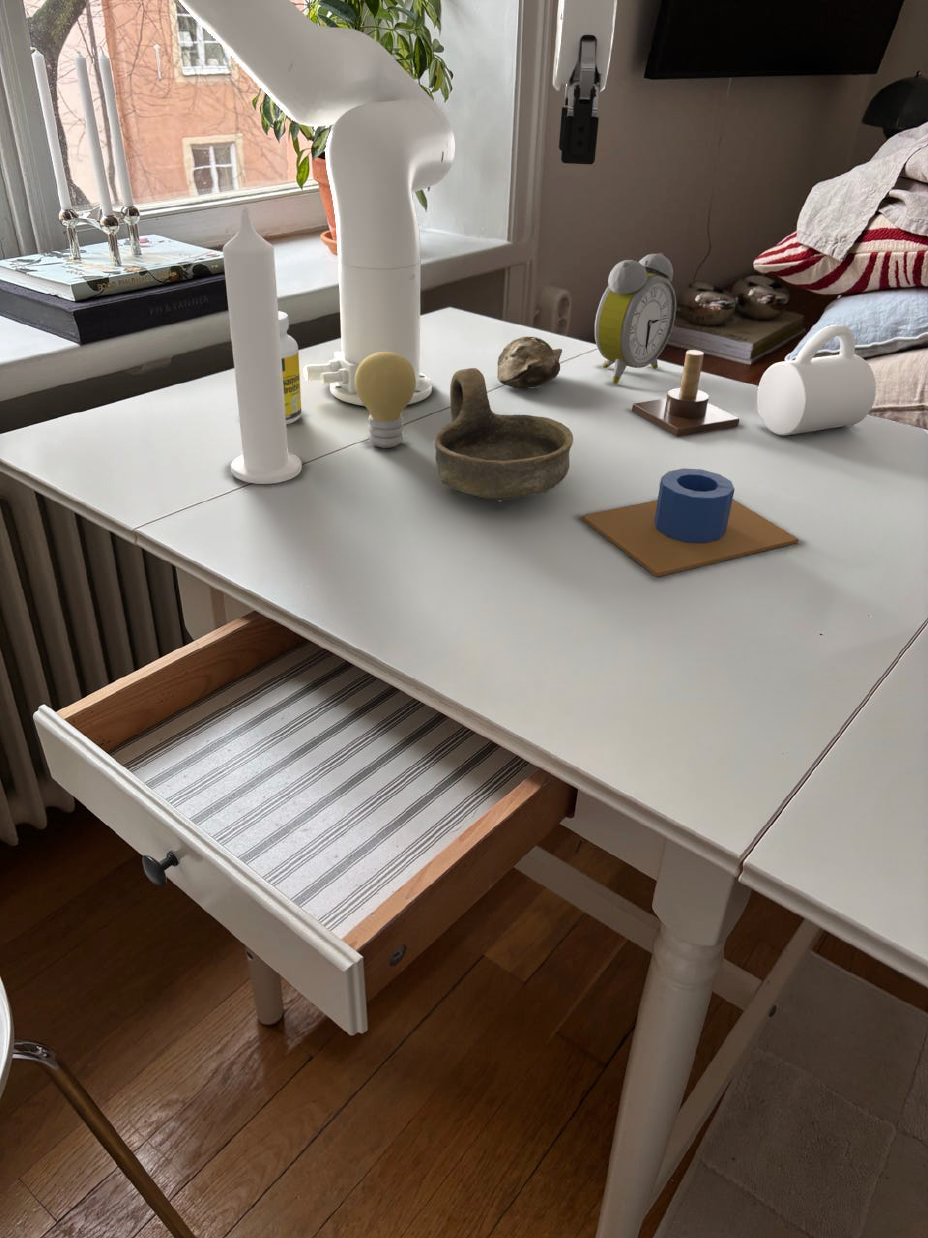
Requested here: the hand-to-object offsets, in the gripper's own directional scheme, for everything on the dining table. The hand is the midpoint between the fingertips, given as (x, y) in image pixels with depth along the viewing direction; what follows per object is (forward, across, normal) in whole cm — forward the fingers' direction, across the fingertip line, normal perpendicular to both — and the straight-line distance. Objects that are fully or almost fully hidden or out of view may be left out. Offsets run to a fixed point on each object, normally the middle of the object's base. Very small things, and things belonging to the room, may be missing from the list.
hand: (575, 156), depth 96 cm
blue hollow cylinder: (+28, +25, +12) cm, 40 cm away
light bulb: (+28, +8, -18) cm, 35 cm away
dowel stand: (+28, -4, +16) cm, 33 cm away
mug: (+28, -4, +30) cm, 42 cm away
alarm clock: (+28, -21, +10) cm, 37 cm away
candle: (+28, +17, -29) cm, 44 cm away
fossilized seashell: (+28, -15, -3) cm, 32 cm away
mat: (+28, +25, +12) cm, 40 cm away
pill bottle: (+28, +2, -32) cm, 43 cm away
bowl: (+28, +17, -6) cm, 34 cm away
